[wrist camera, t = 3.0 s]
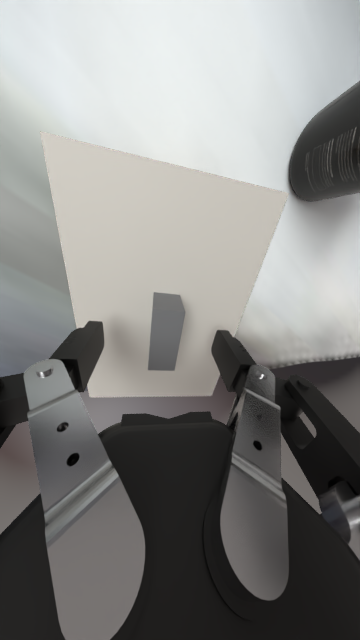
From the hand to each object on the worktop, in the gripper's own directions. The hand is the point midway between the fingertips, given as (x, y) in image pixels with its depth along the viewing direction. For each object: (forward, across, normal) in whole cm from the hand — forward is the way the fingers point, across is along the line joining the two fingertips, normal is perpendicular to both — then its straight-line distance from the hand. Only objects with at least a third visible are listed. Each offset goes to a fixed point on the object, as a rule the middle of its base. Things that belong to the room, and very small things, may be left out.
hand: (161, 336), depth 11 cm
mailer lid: (+6, 0, 0) cm, 6 cm away
